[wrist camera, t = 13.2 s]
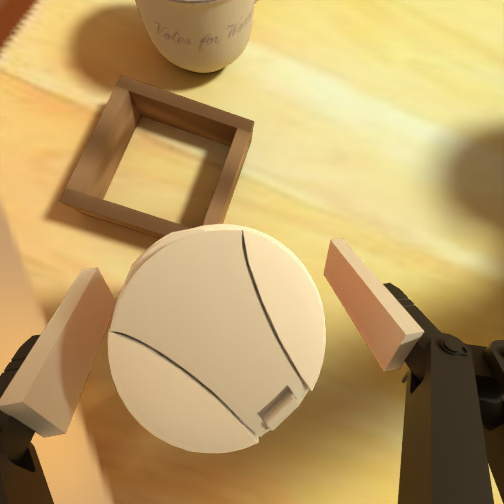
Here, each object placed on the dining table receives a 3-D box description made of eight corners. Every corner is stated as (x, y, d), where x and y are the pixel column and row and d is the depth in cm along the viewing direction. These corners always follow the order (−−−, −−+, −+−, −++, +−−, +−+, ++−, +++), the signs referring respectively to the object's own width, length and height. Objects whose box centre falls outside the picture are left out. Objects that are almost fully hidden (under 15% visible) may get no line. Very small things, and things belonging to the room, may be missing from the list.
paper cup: (286, 312, 22) (388, 349, 8) (217, 370, 20) (194, 542, 6) (232, 244, 22) (239, 167, 8) (162, 297, 21) (31, 310, 7)
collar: (134, 101, 24) (120, 75, 21) (251, 141, 25) (254, 121, 22) (81, 213, 22) (58, 201, 19) (212, 254, 22) (209, 249, 19)
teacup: (164, 100, 24) (134, 9, 17) (137, 13, 26) (98, -108, 18) (289, 74, 26) (316, -18, 19) (258, -5, 28) (270, -122, 20)
